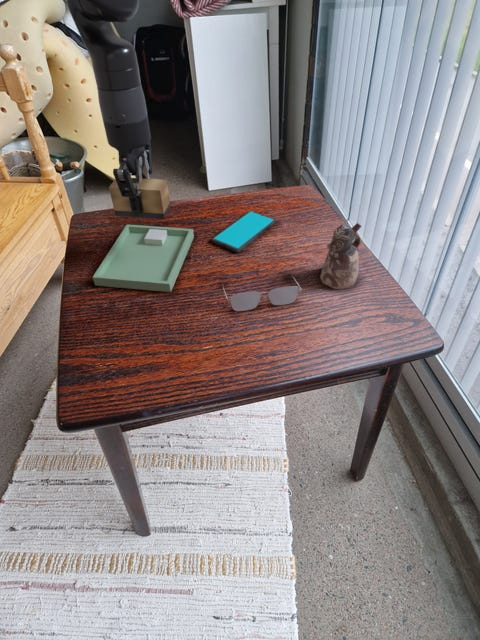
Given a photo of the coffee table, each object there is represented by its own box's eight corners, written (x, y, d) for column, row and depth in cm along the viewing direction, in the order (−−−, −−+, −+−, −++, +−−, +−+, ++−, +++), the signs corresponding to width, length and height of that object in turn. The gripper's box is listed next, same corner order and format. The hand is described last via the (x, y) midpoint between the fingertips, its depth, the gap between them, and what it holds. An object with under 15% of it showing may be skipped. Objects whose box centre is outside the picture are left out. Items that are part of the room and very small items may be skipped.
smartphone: (211, 238, 93) (250, 210, 102) (211, 242, 94) (250, 213, 102) (238, 249, 90) (276, 219, 99) (238, 253, 91) (275, 222, 99)
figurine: (315, 269, 86) (322, 217, 78) (348, 265, 87) (358, 213, 79) (327, 291, 81) (336, 238, 73) (362, 286, 82) (374, 233, 74)
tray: (95, 285, 84) (92, 277, 82) (128, 232, 97) (126, 224, 96) (170, 292, 82) (169, 283, 80) (194, 237, 96) (193, 229, 94)
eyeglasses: (228, 313, 77) (226, 295, 75) (220, 288, 83) (219, 271, 81) (300, 302, 79) (302, 284, 76) (288, 279, 85) (289, 262, 82)
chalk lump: (145, 244, 93) (143, 238, 92) (150, 234, 96) (149, 228, 95) (162, 245, 92) (161, 239, 91) (167, 235, 95) (166, 230, 94)
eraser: (115, 215, 83) (108, 187, 79) (123, 204, 86) (117, 176, 82) (164, 219, 82) (160, 190, 77) (170, 207, 85) (166, 179, 81)
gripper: (118, 100, 77) (135, 188, 88) (86, 128, 66) (110, 223, 78) (158, 101, 76) (170, 190, 88) (131, 130, 66) (149, 226, 77)
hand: (142, 205), depth 83 cm, fingers closed on eraser, 4 cm apart
